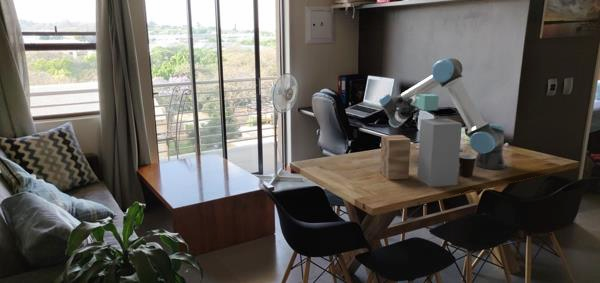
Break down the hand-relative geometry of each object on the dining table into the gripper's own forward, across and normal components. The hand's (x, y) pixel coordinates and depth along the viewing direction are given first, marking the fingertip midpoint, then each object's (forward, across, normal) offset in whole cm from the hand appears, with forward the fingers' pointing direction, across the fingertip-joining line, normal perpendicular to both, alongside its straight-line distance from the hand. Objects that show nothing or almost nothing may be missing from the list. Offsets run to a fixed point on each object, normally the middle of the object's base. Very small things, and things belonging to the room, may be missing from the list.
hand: (419, 97), depth 230 cm
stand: (-2, -2, -44) cm, 44 cm away
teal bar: (0, 0, -5) cm, 5 cm away
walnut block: (-13, +15, -38) cm, 42 cm away
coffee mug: (-9, -22, -40) cm, 47 cm away
